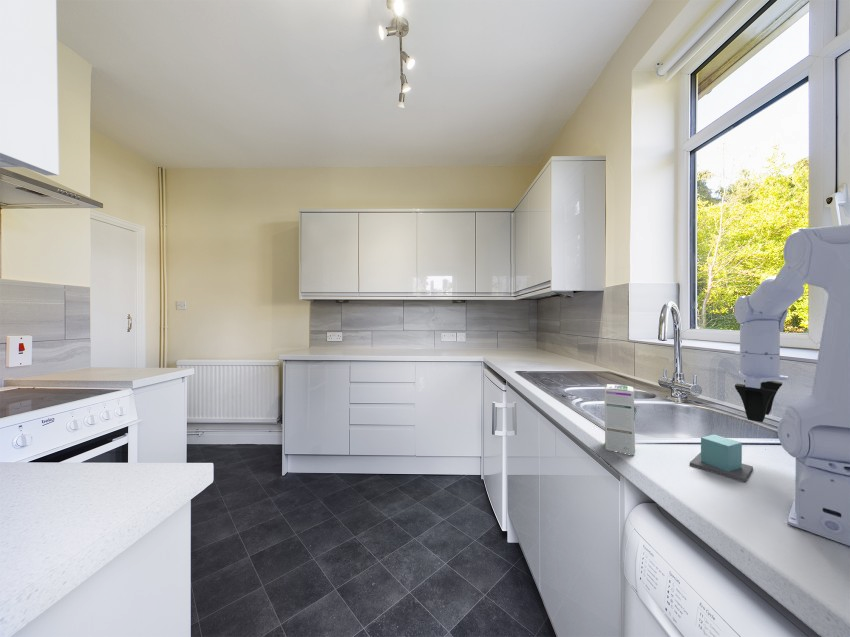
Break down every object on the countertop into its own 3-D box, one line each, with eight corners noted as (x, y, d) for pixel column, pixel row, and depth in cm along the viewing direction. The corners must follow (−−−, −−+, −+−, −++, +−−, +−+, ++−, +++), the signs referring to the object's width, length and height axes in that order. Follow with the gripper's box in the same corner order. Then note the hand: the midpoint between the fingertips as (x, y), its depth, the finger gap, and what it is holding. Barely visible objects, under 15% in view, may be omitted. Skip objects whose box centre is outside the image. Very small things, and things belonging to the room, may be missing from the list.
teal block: (728, 471, 60) (728, 446, 60) (700, 461, 64) (700, 437, 64) (741, 467, 61) (741, 442, 61) (713, 457, 65) (714, 434, 65)
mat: (744, 482, 57) (744, 479, 57) (689, 465, 64) (689, 462, 64) (752, 469, 62) (753, 466, 62) (700, 454, 68) (700, 452, 68)
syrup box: (635, 456, 68) (635, 391, 67) (604, 450, 71) (604, 387, 71) (634, 447, 72) (634, 385, 72) (605, 441, 76) (605, 382, 75)
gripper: (783, 358, 57) (783, 430, 58) (792, 352, 66) (791, 415, 66) (731, 354, 63) (730, 419, 63) (745, 349, 72) (745, 407, 72)
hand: (758, 417), depth 65 cm, fingers open, 7 cm apart
